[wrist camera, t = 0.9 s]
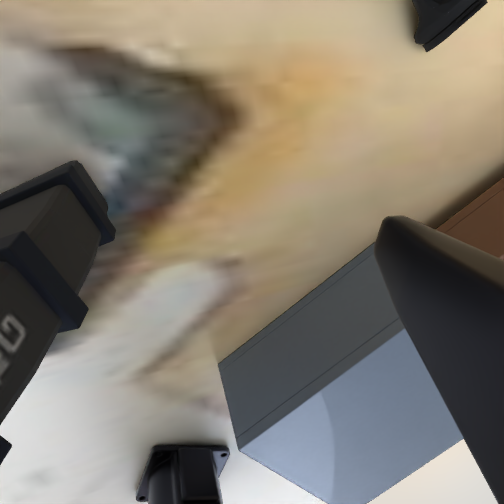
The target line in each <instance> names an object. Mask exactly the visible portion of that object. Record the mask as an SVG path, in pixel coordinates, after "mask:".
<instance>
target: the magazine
mask: <svg viewBox="0 0 504 504" xmlns="http://www.w3.org/2000/svg"><path fill="white" fill-rule="evenodd" d="M107 211H108V204H107V202H106V201H105V199H104V198H103V196H102V195H101V193H100V192H99V190H98V189H97V187H96V186H95V184H94V183H93V181H92V180H91V178H90V176H89V175H88V173H87V172H86V170H85V169H84V167H83V166H82V164H81V163H79V162H78V161H70V162H68V163H66V164H64V165H62V166H60V167H57V168H55V169H53V170H51V171H49V172H47V173H45V174H42V175H40V176H38V177H36V178H34V179H32V180H30V181H28V182H25V183H23V184H21V185H19V186H17V187H15V188H13V189H10V190H8V191H6V192H4V193H2V194H0V425H1V423H2V422H3V420H4V419H5V417H6V416H7V414H8V413H9V411H10V410H11V408H12V407H13V405H14V404H15V402H16V401H17V400H18V398H19V397H20V395H21V394H22V392H23V391H24V389H25V388H26V386H27V385H28V383H29V382H30V380H31V379H32V378H33V376H34V375H35V373H36V371H37V369H38V368H39V366H40V364H41V362H42V360H43V358H44V356H45V355H46V353H47V351H48V349H49V347H50V345H51V344H52V342H53V340H54V338H55V336H56V334H57V333H60V332H65V331H69V330H73V329H78V328H79V327H80V326H81V324H82V322H83V320H84V318H85V316H86V314H87V312H88V307H87V306H86V305H85V303H84V302H83V301H82V300H81V299H80V297H79V296H78V293H79V291H80V289H81V287H82V285H83V283H84V281H85V279H86V277H87V275H88V273H89V271H90V269H91V267H92V265H93V262H94V259H95V255H96V252H97V249H98V247H99V246H101V245H104V244H106V243H108V242H111V241H113V240H114V238H115V232H116V229H115V228H114V226H113V225H112V223H111V222H110V220H109V219H108V217H107V216H106V215H107ZM11 447H12V444H11V443H9V442H8V441H7V440H5V439H4V438H3V437H2V436H0V465H1V463H2V461H3V460H4V458H5V457H6V455H7V454H8V452H9V450H10V449H11Z"/></svg>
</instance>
